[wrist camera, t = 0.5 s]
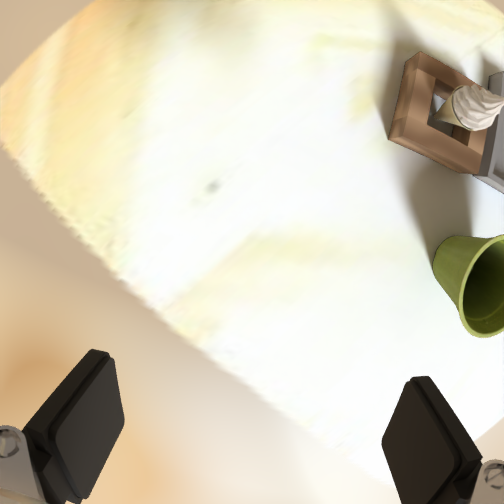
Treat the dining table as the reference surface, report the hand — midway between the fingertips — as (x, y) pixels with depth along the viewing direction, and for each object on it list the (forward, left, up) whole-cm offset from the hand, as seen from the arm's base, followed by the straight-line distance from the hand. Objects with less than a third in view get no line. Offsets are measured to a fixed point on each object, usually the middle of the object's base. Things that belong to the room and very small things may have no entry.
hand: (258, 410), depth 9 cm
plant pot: (-4, +26, -30) cm, 40 cm away
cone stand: (-21, +17, -30) cm, 40 cm away
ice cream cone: (-21, +17, -30) cm, 40 cm away
